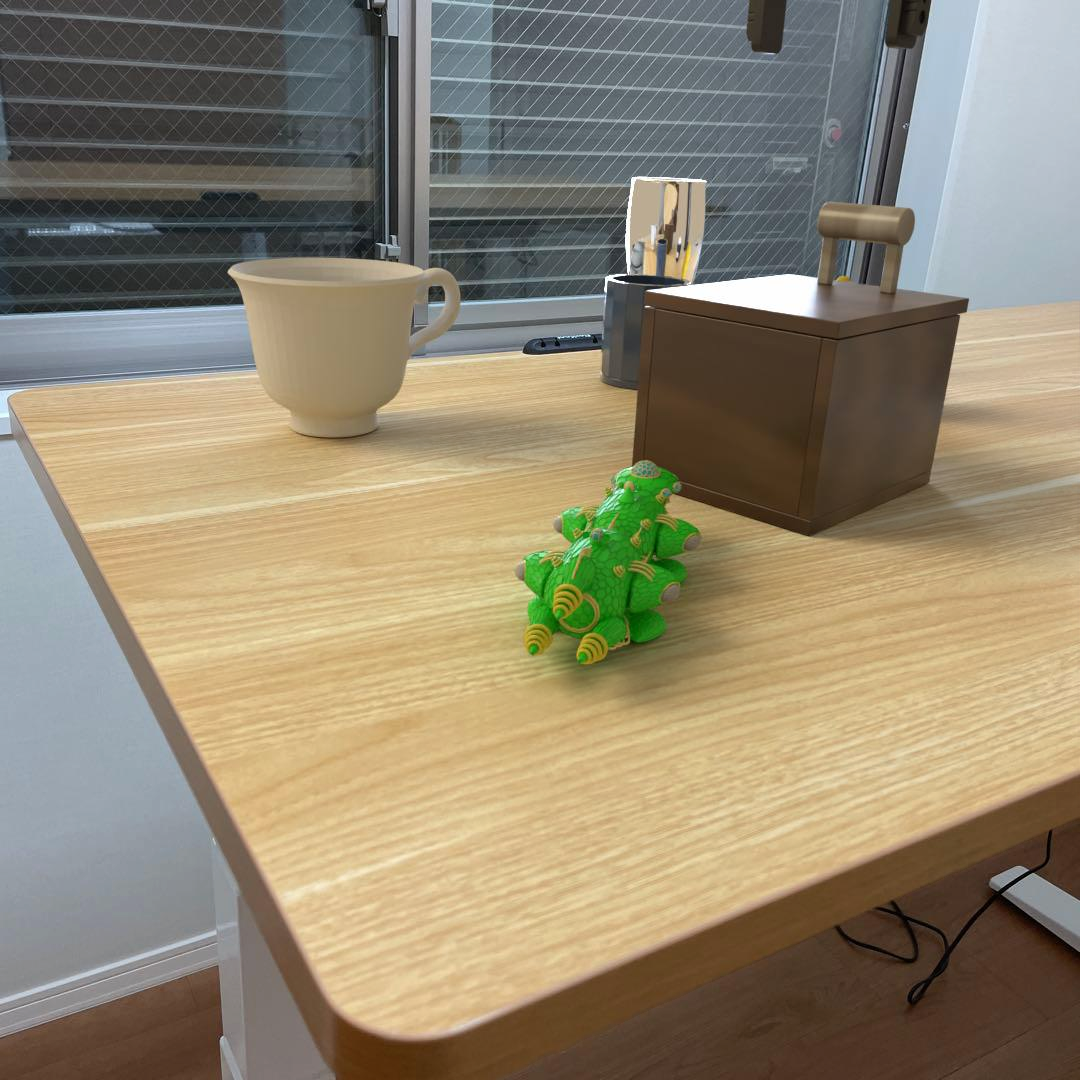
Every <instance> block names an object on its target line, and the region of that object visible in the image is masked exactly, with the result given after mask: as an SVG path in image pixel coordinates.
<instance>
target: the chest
mask: <svg viewBox="0 0 1080 1080" xmlns="http://www.w3.org/2000/svg"><path fill="white" fill-rule="evenodd" d="M960 320H961V314H957V315H952V316H947V317H942V318H937V319H932V320H928V321H923V322H918V323H913V324H908V325H903V326H898V327H893V328H889V329H884V330H879V331H874V332H869V333H864V334H859V335H855V336H850V337H845V338H840V339H833V338H828V337H822V336H816V335H810V334H805V333H799V332H793V331H787V330H782V329H776V328H770V327H765V326H759V325H753V324H747V323H742V322H736V321H730V320H724V319H719V318H713V317H707V316H701V315H696V314H690V313H684V312H678V311H673V310H667V309H661V308H655V307H650V306H646V307H644V312H643V325H642V338H641V352H640V365H639V378H638V389H637V393H636V406H635V407H636V408H635V420H634V432H633V433H634V434H633V444H632V445H633V447H632V459H631V460H632V461H631V463H632V464H631V467H632V466H634V465H635V464H636V463H637V462H639V461H643V460H648V461H651V462H653V463H654V464H655V465H656V466H657V467H659V468H663V469H666V470H667V471H669V472H671V473H672V474H674V475H676V476H677V477H678V481H679V483H680V484H681V486H682V487H681V490H680V491H679V492H677V493H674V494H675V495H679V496H681V497H685V498H688V499H691V500H695V501H697V502H700V503H704V504H707V505H710V506H713V507H716V508H720V509H722V510H726V511H729V512H732V513H736V514H738V515H741V516H743V517H744V516H745V517H748V518H751V519H754V520H758V521H761V522H764V523H767V524H770V525H773V526H776V527H778V528H779V527H780V528H782V529H784V530H785V529H786V530H789V531H791V532H795V533H799V534H802V535H805V536H813V535H814V534H816V533H818V532H822V531H823V530H826V529H828V528H830V527H832V526H835V525H837V524H839V523H841V522H843V521H847V520H848V519H850V518H853V517H855V516H857V515H859V514H861V513H863V512H866V511H868V510H871V509H873V508H876V507H878V506H879V505H882V504H884V503H886V502H889V501H891V500H893V499H895V498H898V497H900V496H902V495H904V494H906V493H909V492H911V491H913V490H915V489H918V488H920V487H922V486H924V485H927V484H928V483H930V480H931V474H932V469H933V465H934V459H935V453H936V448H937V443H938V439H939V432H940V426H941V421H942V416H943V411H944V406H945V402H946V401H945V400H946V395H947V390H948V383H949V379H950V373H951V369H952V364H953V363H952V362H953V357H954V352H955V346H956V340H957V335H958V331H959V325H960Z"/></svg>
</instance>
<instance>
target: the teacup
mask: <svg viewBox="0 0 1080 1080" xmlns="http://www.w3.org/2000/svg"><path fill="white" fill-rule="evenodd" d="M227 274H228V275H229V276H230V277H231V278H232V279H233V280H234V281H235V283H236V284H237V287H238V288H239V291H240V293H241V297H242V298H241V299H242V302H243V305H244V310H245V314H246V319H247V325H248V330H249V336H250V342H251V346H252V352H253V359H254V363H255V367H256V370H257V374H258V378H259V380H260V383H261V386H262V388H263V389H264V391H265V393H266V394H267V396H268V397H269V398H270V399H271V400H272V401H274V402H275V403H277V405H279V406H280V407H282V408H285V409H287V410H288V411H289V412H290V417H289V420H288V426H289V429H290V430H292V431H293V432H295V433H297V434H299V435H303V436H308V437H309V436H310V437H316V438H350V437H356V436H361V435H362V436H363V435H366V434H369V433H372V432H374V431H375V430H376V429H378V427H379V425H380V422H379V418H378V413H377V412H378V410H379V409H381V408H383V407H384V406H385V405H387V404H389V403H390V402H391V401H393V400H394V399H395V397H397V395H398V394H399V392H400V390H401V388H402V386H403V382H404V379H405V376H406V370H407V365H408V361H409V359H410V358H411V356H412V355H413V354H414V353H415V352H416V351H417V350H418V349H419V348H420V347H422V346H424V345H425V344H427V343H430V342H432V341H435V340H437V339H438V338H440V337H441V336H443V335H445V333H447V332H448V331H449V330H450V329H451V328H452V326H453V325H454V323H455V322H456V320H457V319H458V315H459V312H460V309H461V291H460V286H459V284H458V281H457V279H456V278H455V277H454V275H453V274H452V273H451V272H450V271H449V270H446V269H444V268H440V267H432V268H428V269H425V270H423V269H422V268H420V267H418V266H415V265H411V264H408V263H402V262H396V261H387V260H378V259H363V258H348V257H347V258H346V257H283V258H266V259H255V260H248V261H243V262H238V263H236V264H233V265H231V266H230V268H228V270H227ZM436 284H438V285H440V286H441V287H442V288H443V291H444V297H445V299H444V304H443V308H442V310H441V312H440V314H439V315H438V317H437V318H436V319H435V320H434V321H433V322H432V323H430V324H429V325H427V326H426V327H424V328H421V329H420V330H418V331H416V332H414V333H413V334H412V335H411V331H412V322H413V321H412V320H413V314H414V307H415V304H416V305H418V306H422V305H423V304H425V302H426V300H427V297H428V292H429V288H430V287H431V286H433V285H436Z"/></svg>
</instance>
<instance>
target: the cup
mask: <svg viewBox="0 0 1080 1080" xmlns="http://www.w3.org/2000/svg"><path fill="white" fill-rule="evenodd" d="M691 284H692V283H691V282H690V281H689V280H685V279H682V278H676V277H669V276H659V275H641V274H627V273H626V274H614V275H609V276H606V277H605V284H604V285H605V286H604V300H603V301H604V302H603V317H602V331H601V332H602V333H601V347H600V348H601V350H600V365H599V370H600V371H599V372H600V375H599V379H600V381H601V382H602V383H604V384H607V385H610V386H614V387H616V388H617V387H618V388H623V389H630V390H638V378H639V365H640V352H641V338H642V325H643V312H644V307H646V306H645V305H644V300H645V291H647V290H656V289H664V288H673V287H682V286H691Z"/></svg>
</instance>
